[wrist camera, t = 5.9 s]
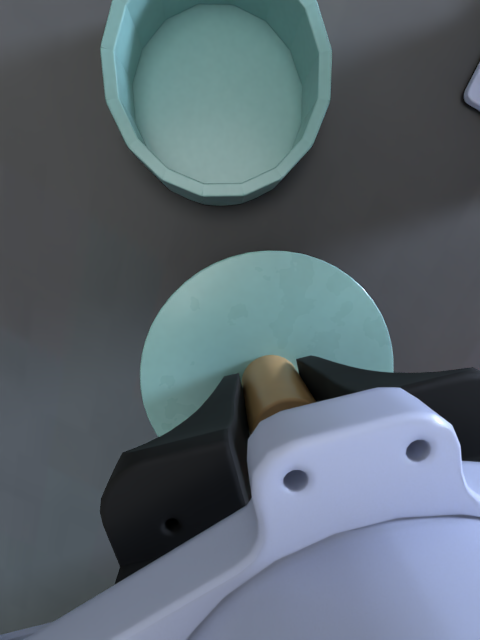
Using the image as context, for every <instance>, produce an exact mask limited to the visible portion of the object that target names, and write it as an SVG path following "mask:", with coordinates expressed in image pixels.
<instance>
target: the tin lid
mask: <svg viewBox="0 0 480 640" xmlns="http://www.w3.org/2000/svg"><path fill="white" fill-rule="evenodd" d="M310 355H312V356H317V357H320V358H323V359H327V360H330V361H333V362H336V363H340V364H343V365H347V366H351V367H356V368H360V369H365V370H372V371H380V372H392V373H393V352H392V345H391V340H390V336H389V333H388V329H387V326H386V324H385V322H384V319H383V317H382V315H381V313H380V311H379V309H378V308H377V306H376V305H375V303H374V301H373V300H372V298H371V297H370V296H369V295H368V294H367V293H366V291H365V290H364V289H363V288H362V287H361V286H360V285H359V284H358V283H357V282H356V281H355V280H353V279H352V278H351V277H350V276H349V275H347V274H346V273H344V272H343V271H341V270H340V269H338V268H337V267H335V266H333V265H331V264H329V263H327V262H325V261H322V260H320V259H317V258H314V257H311V256H308V255H305V254H300V253H294V252H288V251H270V250H265V251H255V252H247V253H243V254H239V255H235V256H231V257H228V258H226V259H223V260H221V261H218V262H216V263H214V264H212V265H210V266H208V267H206V268H204V269H203V270H201V271H199V272H198V273H196V274H195V275H194V276H192V277H191V278H190V279H188V280H187V281H186V282H184V283H183V284H182V285H181V286H180V287H179V288H178V289H177V290H176V291H175V292H174V293H173V294H172V295H171V296H170V298H169V299H168V300H167V302H166V303H165V304H164V305H163V307H162V308H161V309H160V311H159V313H158V314H157V316H156V318H155V320H154V321H153V323H152V325H151V328H150V330H149V332H148V335H147V337H146V340H145V344H144V348H143V352H142V356H141V366H140V388H141V393H142V399H143V404H144V407H145V410H146V413H147V416H148V419H149V421H150V423H151V425H152V427H153V429H154V431H155V432H156V434H157V435H158V437H160V436H162V435H164V434H165V433H167V432H169V431H170V430H172V429H173V428H175V427H176V426H178V425H179V424H181V423H182V422H183V421H185V420H186V419H188V418H189V417H190V416H191V415H192V414H193V413H195V412H196V411H197V410H198V409H199V408H200V407H201V406H202V405H203V403H204V402H205V401H206V400H207V399H208V398H209V396H210V395H211V394H212V393H213V391H214V390H215V389H216V387H217V386H218V384H219V383H220V381H221V380H222V379H223V377H224V376H227V375H232V374H236V373H239V376H240V380H241V384H242V388H243V393H244V399H245V408H246V415H247V421H248V427H249V433H250V436H251V434H252V433H253V431H254V430H255V428H256V427H257V426H258V424H259V423H260V421H262V420H264V419H266V418H268V417H270V416H272V415H274V414H276V413H278V412H280V411H282V410H286V409H291V408H295V407H299V406H303V405H307V404H311V403H315V402H316V401H315V399H314V397H313V396H312V394H311V393H310V391H309V389H308V388H307V386H306V385H305V383H304V381H303V380H302V378H301V377H300V375H299V372H298V367H297V362H296V359H298V358H302V357H306V356H310Z"/></svg>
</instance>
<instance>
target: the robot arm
mask: <svg viewBox="0 0 480 640" xmlns="http://www.w3.org/2000/svg"><path fill="white" fill-rule="evenodd" d="M464 100H465V102H466V103H467V104H469V105H470V106H472V107H474V108H475V109H477V110H479V111H480V62H479V64H478V66H477V68H476V70H475V72H474V74H473V76H472V78H471V80H470V82H469V84H468V86H467V88H466V89H465V92H464ZM296 362H297V367H298V372H299V375H300V377H301V378H302V380H303V381H304V383H305V385H306V386H307V388H308V389H309V391H310V393H311V394H312V396H313V397H314V399H315V401H316V402H315V403H311V404H307V405H303V406H299V407H295V408H291V409H286V410H282V411H280V412H278V413H276V414H274V415H272V416H270V417H268V418H266V419H264V420H262V421H260V423H259V424H258V426H257V427H256V428H255V430H254V431H253V433H252V434H251V436H250V433H249V427H248V421H247V415H246V408H245V399H244V393H243V388H242V384H241V380H240V376H239V373H236V374H232V375H227V376H224V377H223V379H222V380H221V381H220V383H219V384H218V386H217V387H216V389H215V390H214V391H213V393H212V394H211V395H210V396H209V398H208V399H207V400H206V401H205V402H204V403H203V405H202V406H201V407H200V408H199V409H198V410H197V411H196V412H195V413H193V414H192V415H191V416H190V417H189V418H188V419H186V420H185V421H183V422H182V423H181V424H179V425H178V426H176V427H175V428H173V429H172V430H170V431H169V432H167V433H165V434H164V435H162V436H160V437H158V438H156V439H154V440H152V441H150V442H148V443H146V444H143V445H141V446H138V447H136V448H134V449H131V450H129V451H126V452H123V453H122V455H121V457H120V459H119V460H118V462H117V464H116V466H115V468H114V471H113V473H112V475H111V477H110V479H109V482H108V484H107V486H106V488H105V491H104V493H103V495H102V498H101V506H100V514H101V518H102V523H103V526H104V528H105V531H106V533H107V536H108V538H109V541H110V543H111V546H112V548H113V550H114V553H115V555H116V558H117V560H118V563H119V565H120V569H119V572H118V576H117V579H116V582H115V585H113V586H112V587H110V588H108V589H107V590H105V591H103V592H102V593H100V594H98V595H97V596H95V597H93V598H92V599H90V600H88V601H87V602H85V603H83V604H82V605H80V606H78V607H77V608H75V609H73V610H72V611H70V612H68V613H67V614H65V615H63V616H62V617H60V618H58V619H57V620H55V621H53V622H50V623H46V624H42V625H38V626H34V627H30V628H26V629H22V630H18V631H14V632H10V633H5V634H1V635H0V640H480V371H479V370H477V369H475V368H473V367H472V368H464V369H456V370H449V371H441V372H425V373H392V372H380V371H372V370H365V369H360V368H356V367H351V366H347V365H343V364H340V363H336V362H333V361H330V360H327V359H323V358H320V357H317V356H312V355H310V356H306V357H302V358H298V359H296Z"/></svg>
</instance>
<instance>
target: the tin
mask: <svg viewBox="0 0 480 640" xmlns="http://www.w3.org/2000/svg"><path fill="white" fill-rule="evenodd" d="M100 47H101V48H100V53H101V63H102V72H103V82H104V91H105V100H106V103H107V105H108V108H109V110H110V112H111V114H112V116H113V118H114V120H115V122H116V124H117V126H118V128H119V130H120V133H121V135H122V137H123V139H124V141H125V143H126V145H127V146H128V148H129V149H130V150H131V151H132V152H133V154H134V155H135V156H136V157H137V158H138V159H139V160H140V161H141V162H142V163H143V164H144V165H145V166H146V167H147V168H148V169H149V170H150V171H151V172H152V173H153V174H154V175H155V176H156V177H157V178H158V179H159V180H160V181H161V182H162V183H163V184H164V185H165V186H166V187H167V188H168V189H169V190H171V191H172V192H175V193H177V194H179V195H181V196H183V197H185V198H187V199H190V200H193V201H196V202H198V203H202V204H205V205H218V206H225V205H235V204H242V203H244V202H247V201H249V200H252V199H255V198H257V197H259V196H260V195H262V194H264V193H266V192H268V191H270V190H272V189H274V187H275V186H276V185H277V184H278V183H279V182H280V181H281V180H282V179H283V178H284V177H285V176H286V175H287V174H288V172H289V171H290V170H291V169H292V168H293V167H294V166H295V165H296V164H297V163H298V162H299V160H300V159H301V158H302V157H303V156H304V155H305V154H306V153H307V152H308V151H309V150H310V148H311V147H312V145H313V144H314V141H315V139H316V136H317V134H318V131H319V129H320V126H321V124H322V121H323V119H324V116H325V114H326V111H327V109H328V106H329V104H330V99H331V71H332V51H331V50H332V49H331V45H330V42H329V39H328V36H327V32H326V29H325V26H324V23H323V20H322V16H321V13H320V10H319V7H318V4H317V1H316V0H112V3H111V7H110V11H109V15H108V19H107V23H106V27H105V30H104V34H103V38H102V42H101V46H100Z"/></svg>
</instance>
